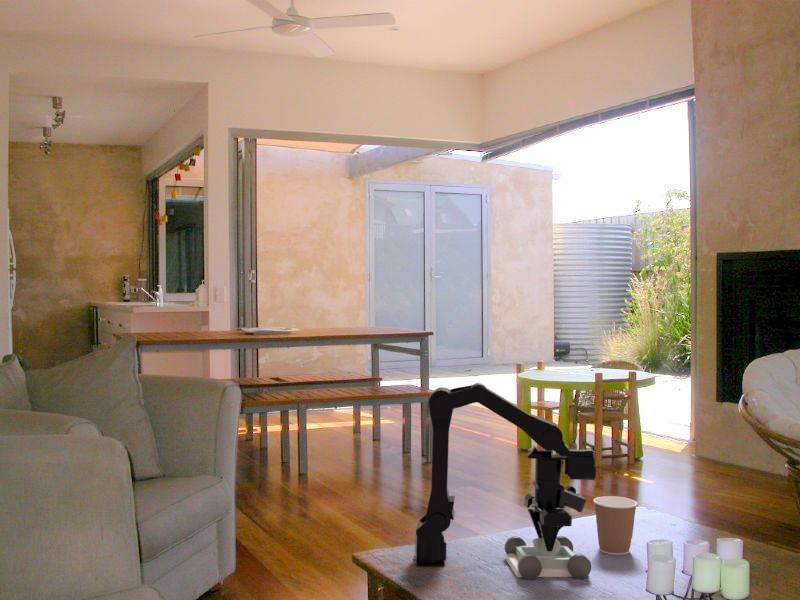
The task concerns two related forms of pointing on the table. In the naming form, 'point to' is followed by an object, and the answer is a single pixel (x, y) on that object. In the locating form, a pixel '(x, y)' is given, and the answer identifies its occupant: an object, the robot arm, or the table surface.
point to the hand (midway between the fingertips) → (546, 547)
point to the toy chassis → (545, 560)
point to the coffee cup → (615, 523)
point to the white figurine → (541, 547)
